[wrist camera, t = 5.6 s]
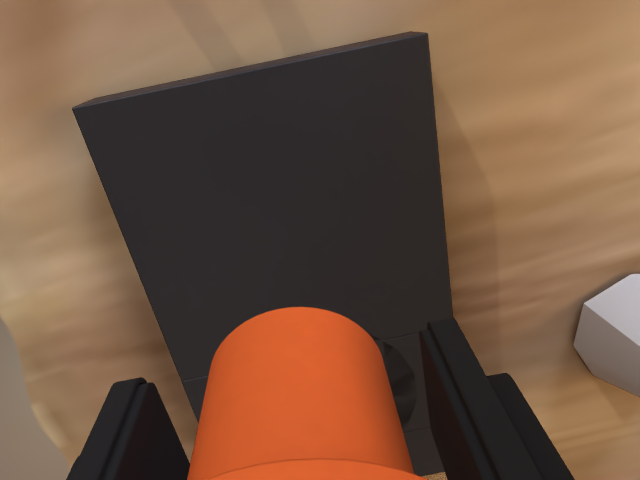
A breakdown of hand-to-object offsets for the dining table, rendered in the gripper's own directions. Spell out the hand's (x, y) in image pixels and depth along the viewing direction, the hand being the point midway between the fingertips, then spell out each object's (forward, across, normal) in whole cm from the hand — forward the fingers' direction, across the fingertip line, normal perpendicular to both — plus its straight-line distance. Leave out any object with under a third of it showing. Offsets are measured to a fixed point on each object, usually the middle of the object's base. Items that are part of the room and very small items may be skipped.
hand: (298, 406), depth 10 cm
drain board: (+14, 0, +6) cm, 15 cm away
